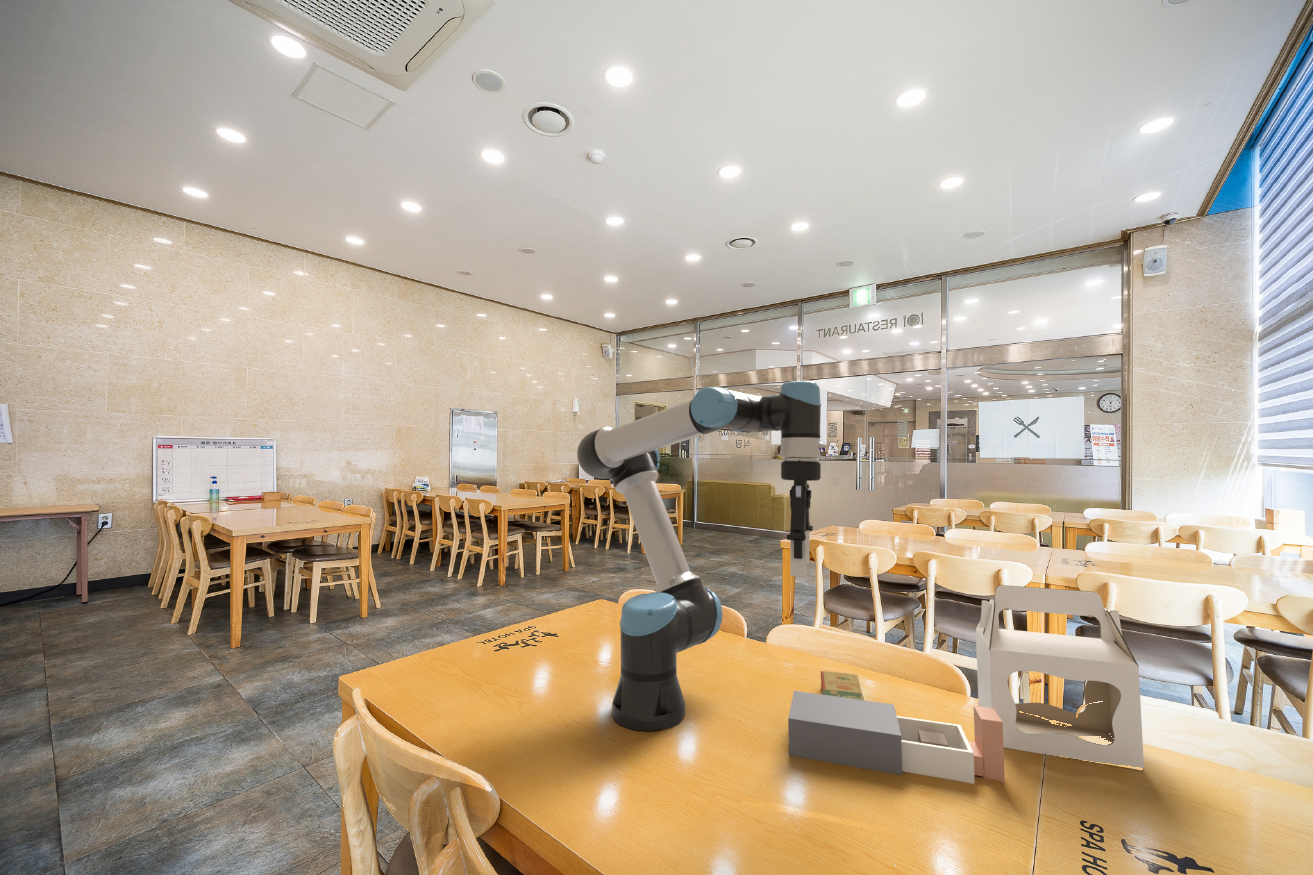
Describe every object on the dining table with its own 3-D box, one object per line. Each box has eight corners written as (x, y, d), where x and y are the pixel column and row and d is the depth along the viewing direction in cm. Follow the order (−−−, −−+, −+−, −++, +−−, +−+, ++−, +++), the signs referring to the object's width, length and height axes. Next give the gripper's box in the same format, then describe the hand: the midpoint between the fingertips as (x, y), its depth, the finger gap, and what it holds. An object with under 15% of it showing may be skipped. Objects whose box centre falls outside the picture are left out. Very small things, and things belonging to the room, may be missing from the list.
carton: (858, 692, 119) (858, 673, 119) (867, 726, 103) (867, 704, 103) (820, 688, 121) (820, 669, 121) (823, 720, 105) (823, 699, 106)
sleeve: (788, 759, 91) (788, 718, 91) (794, 727, 102) (793, 690, 102) (902, 779, 85) (901, 735, 85) (894, 743, 96) (893, 704, 96)
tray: (863, 767, 88) (862, 708, 88) (861, 739, 97) (860, 685, 97) (1009, 793, 81) (1006, 728, 81) (992, 760, 90) (990, 702, 90)
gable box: (1112, 735, 99) (1104, 586, 101) (1146, 772, 87) (1137, 602, 89) (977, 714, 107) (972, 577, 109) (991, 746, 95) (985, 590, 97)
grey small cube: (922, 765, 87) (921, 741, 88) (918, 753, 91) (918, 729, 91) (949, 770, 86) (948, 745, 86) (944, 757, 90) (943, 733, 90)
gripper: (818, 459, 89) (818, 584, 88) (822, 460, 113) (822, 559, 112) (774, 459, 92) (773, 580, 91) (786, 460, 115) (786, 556, 114)
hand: (800, 569), depth 101 cm, fingers open, 13 cm apart
